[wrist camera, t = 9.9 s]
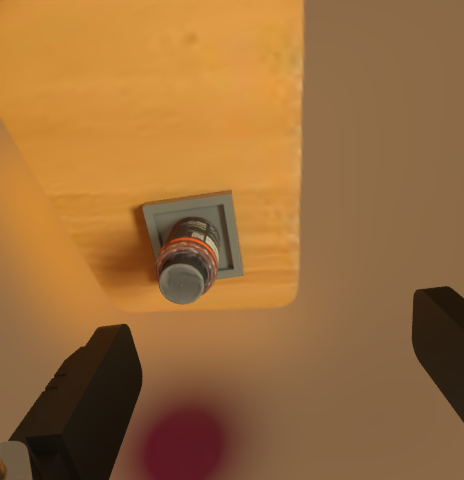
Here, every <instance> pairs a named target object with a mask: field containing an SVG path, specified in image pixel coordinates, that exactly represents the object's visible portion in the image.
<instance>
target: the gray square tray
mask: <svg viewBox="0 0 464 480" xmlns="http://www.w3.org/2000/svg"><path fill="white" fill-rule="evenodd" d="M142 209H143V213H144V217H145V221H146V225H147V229H148V233H149V237H150V241H151V245H152V249H153V253H154V257H155V261H156V259H157V256H158V254H159V252H160V250H161V248H162V246H163V245H164V243H165V241H166V239H167V237H168V235H169V233H170V232H171V230H172V228H173V227H174V226H175V224H176V223H178V222H179V221H180V220H182V219H184V218H187V217H201V218H204V219H206V220H208V221H210V222H211V223H212V224H213V225H214V226H215V227H216V229H217V230H218V232H219V236H220V252H219V261H218V270H217V276H216V279H223V278H231V277H239V276H244V271H243V263H242V256H241V250H240V243H239V236H238V230H237V223H236V217H235V210H234V204H233V197H232V190H229V191H222V192H215V193H208V194H201V195H194V196H187V197H181V198H174V199H167V200H160V201H153V202H146V203H145V204H144V205H143V206H142Z"/></svg>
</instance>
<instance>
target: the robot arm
mask: <svg viewBox="0 0 464 480" xmlns="http://www.w3.org/2000/svg"><path fill="white" fill-rule="evenodd" d="M412 344H413V348H414V351H415V354H416V356H417V358H418V360H419V362H420V363H421V365H422V366H423V367H424V369H425V370H426V372H427V373H428V374H429V376H430V377H431V378H432V380H433V381H434V383H435V384H436V385H437V387H438V388H439V389H440V391H441V392H442V393H443V395H444V396H445V397H446V399H447V400H448V402H449V403H450V404H451V406H452V407H453V408H454V410H455V411H456V413H457V414H458V415H459V417H460V418H461V419H462V421H463V422H464V298H463V297H462V296H460V295H459V294H458V293H457V292H456V291H454V290H453V289H452V288H450V287H448V286H444V287H435V288H428V289H419V290H416V292H415V293H414V298H413V322H412ZM141 387H142V369H141V364H140V361H139V357H138V354H137V351H136V348H135V344H134V341H133V338H132V335H131V331H130V328H129V327H128V325H126V324H120V325H111V326H103V327H98V328H97V329H96V331H95V332H94V334H93V335H92V337H91V338H90V340H89V341H88V343H87V344H86V346H84V347H80V348H79V349H78V350H77V351H75V352H74V353H73V354H72V355H71V356H69V357H68V358H67V359H66V360H65V361H64V362H63V364H62V366H61V367H60V368H59V369H58V371H57V372H56V374H55V375H54V378H53V379H51V381H50V382H49V383H48V385H47V386H46V388H45V391H43V392H42V394H41V395H40V396H39V398H38V399H37V400H36V402H35V403H34V405H33V406H32V407H31V409H30V411H29V412H28V413H27V415H26V416H25V417H24V419H23V420H22V422H21V423H20V425H19V426H18V427H17V429H16V430H15V432H14V433H13V434H12V436H11V437H10V439H9V440H8V441H6V442H3V443H0V480H109V478H110V475H111V472H112V469H113V466H114V464H115V460H116V458H117V455H118V453H119V450H120V447H121V444H122V441H123V438H124V436H125V433H126V430H127V427H128V424H129V422H130V419H131V416H132V413H133V410H134V407H135V404H136V402H137V399H138V396H139V394H140V390H141Z"/></svg>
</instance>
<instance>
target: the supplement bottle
mask: <svg viewBox="0 0 464 480" xmlns="http://www.w3.org/2000/svg"><path fill="white" fill-rule="evenodd" d="M219 252H220V236H219V232H218V230H217V229H216V227H215V226H214V225H213V224H212V223H211V222H210V221H208V220H206V219H204V218H201V217H187V218H184V219H182V220H180V221H179V222H178V223H176V224H175V226H174V227H173V228H172V230H171V232H170V233H169V235H168V237H167V239H166V241H165V243H164V245H163V246H162V248H161V250H160V252H159V254H158V256H157V259H156V262H155V275H156V278H157V280H158V282H159V288H160V291H161V293H162V294H163V295H164V297H165V298H166V299H168V300H169V301H171V302H173V303H176V304H189V303H192V302H194V301H196V300H197V299H198V298H199V297H200V296H201V295H203V294H204V293H206V292H207V291H208V290H209V289H210V288H211V287H212V285H213V284H214V282H215V279H216V276H217V270H218V261H219Z"/></svg>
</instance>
